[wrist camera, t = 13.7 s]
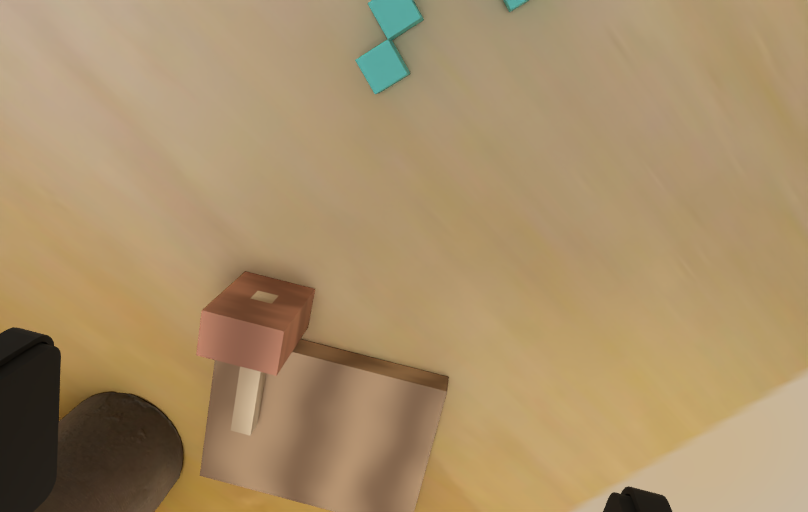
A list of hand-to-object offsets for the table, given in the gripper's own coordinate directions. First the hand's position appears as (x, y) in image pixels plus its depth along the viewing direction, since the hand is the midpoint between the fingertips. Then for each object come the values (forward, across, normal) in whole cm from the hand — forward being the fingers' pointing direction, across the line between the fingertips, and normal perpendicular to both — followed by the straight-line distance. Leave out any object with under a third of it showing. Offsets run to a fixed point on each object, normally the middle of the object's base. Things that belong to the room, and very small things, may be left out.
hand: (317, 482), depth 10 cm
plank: (+30, +4, +20) cm, 36 cm away
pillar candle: (+30, +19, +27) cm, 45 cm away
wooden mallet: (+30, +9, +15) cm, 35 cm away
